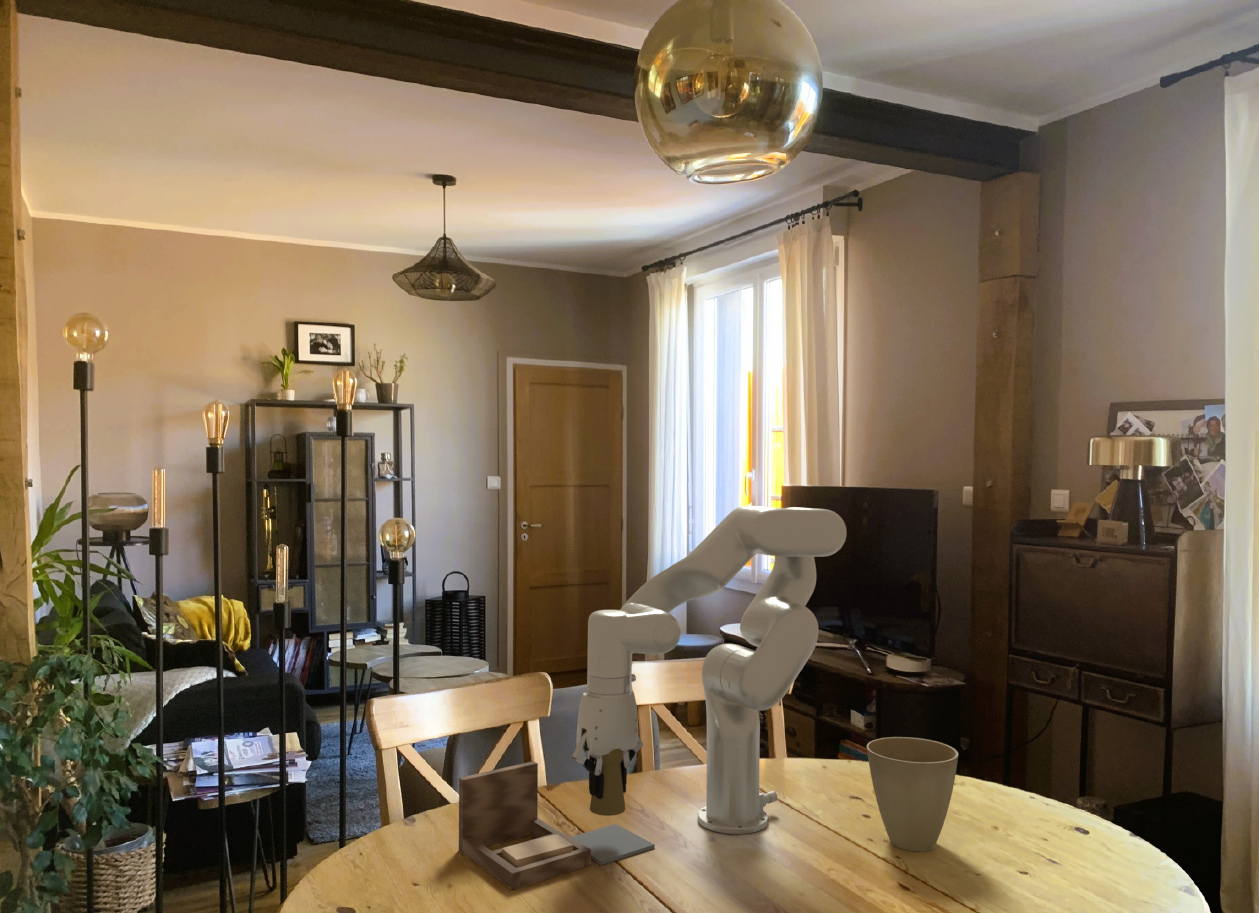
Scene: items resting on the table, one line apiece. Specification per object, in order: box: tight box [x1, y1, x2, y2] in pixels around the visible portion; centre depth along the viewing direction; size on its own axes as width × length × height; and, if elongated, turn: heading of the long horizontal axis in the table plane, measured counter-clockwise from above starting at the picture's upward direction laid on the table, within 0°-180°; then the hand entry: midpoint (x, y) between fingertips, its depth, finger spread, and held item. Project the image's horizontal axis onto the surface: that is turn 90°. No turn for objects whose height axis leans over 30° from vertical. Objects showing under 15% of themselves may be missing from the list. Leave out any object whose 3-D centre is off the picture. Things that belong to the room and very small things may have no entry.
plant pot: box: [866, 736, 959, 853], centre depth 155 cm, size 15×15×16 cm
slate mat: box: [570, 823, 656, 866], centre depth 153 cm, size 11×11×1 cm
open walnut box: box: [458, 760, 592, 891], centre depth 148 cm, size 14×18×12 cm
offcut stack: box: [501, 834, 573, 868], centre depth 145 cm, size 10×5×4 cm, turn 124°
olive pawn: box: [589, 749, 626, 817], centre depth 153 cm, size 6×6×11 cm
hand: (607, 792), depth 153 cm, fingers closed on olive pawn, 4 cm apart
